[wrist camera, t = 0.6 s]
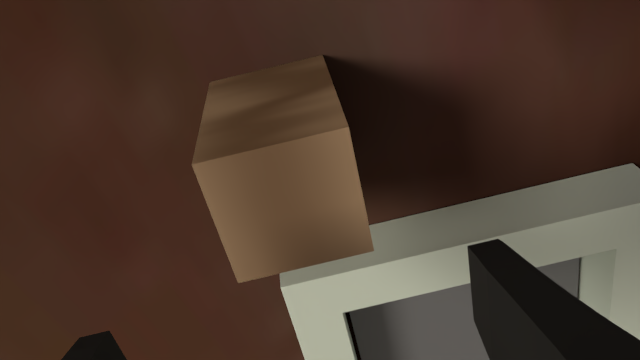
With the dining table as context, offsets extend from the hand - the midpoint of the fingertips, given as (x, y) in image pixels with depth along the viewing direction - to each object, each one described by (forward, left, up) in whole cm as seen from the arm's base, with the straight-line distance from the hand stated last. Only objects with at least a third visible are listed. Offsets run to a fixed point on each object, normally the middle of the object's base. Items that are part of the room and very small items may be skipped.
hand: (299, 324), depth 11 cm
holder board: (-6, +13, -10) cm, 17 cm away
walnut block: (0, 0, -10) cm, 10 cm away
